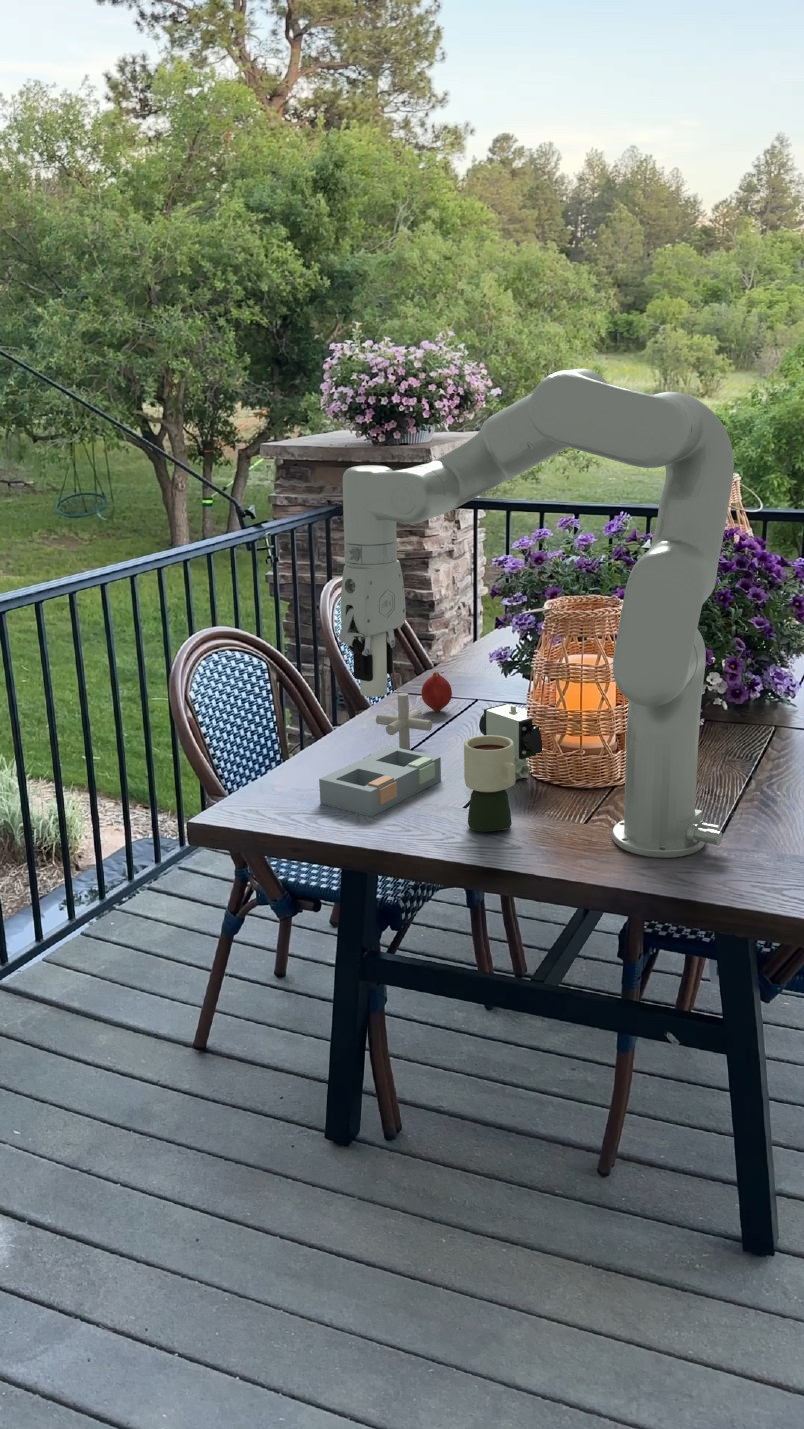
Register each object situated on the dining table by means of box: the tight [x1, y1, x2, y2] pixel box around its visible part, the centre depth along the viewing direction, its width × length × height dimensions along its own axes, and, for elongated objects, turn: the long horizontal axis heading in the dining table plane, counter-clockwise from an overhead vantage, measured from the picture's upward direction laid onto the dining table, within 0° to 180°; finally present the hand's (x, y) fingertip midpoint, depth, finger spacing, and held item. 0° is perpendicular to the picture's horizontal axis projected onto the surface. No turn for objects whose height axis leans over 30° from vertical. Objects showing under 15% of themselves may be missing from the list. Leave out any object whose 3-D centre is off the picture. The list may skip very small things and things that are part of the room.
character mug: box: [463, 735, 516, 833], centre depth 166 cm, size 11×7×13 cm, turn 35°
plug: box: [359, 632, 388, 698], centre depth 172 cm, size 4×4×11 cm
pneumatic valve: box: [478, 703, 542, 782], centre depth 186 cm, size 6×12×12 cm, turn 37°
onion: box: [421, 671, 453, 713], centre depth 221 cm, size 6×6×8 cm
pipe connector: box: [375, 692, 433, 751], centre depth 200 cm, size 10×10×10 cm
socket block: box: [318, 745, 442, 818], centre depth 182 cm, size 10×18×4 cm, turn 143°
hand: (373, 674), depth 173 cm, fingers closed on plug, 4 cm apart
